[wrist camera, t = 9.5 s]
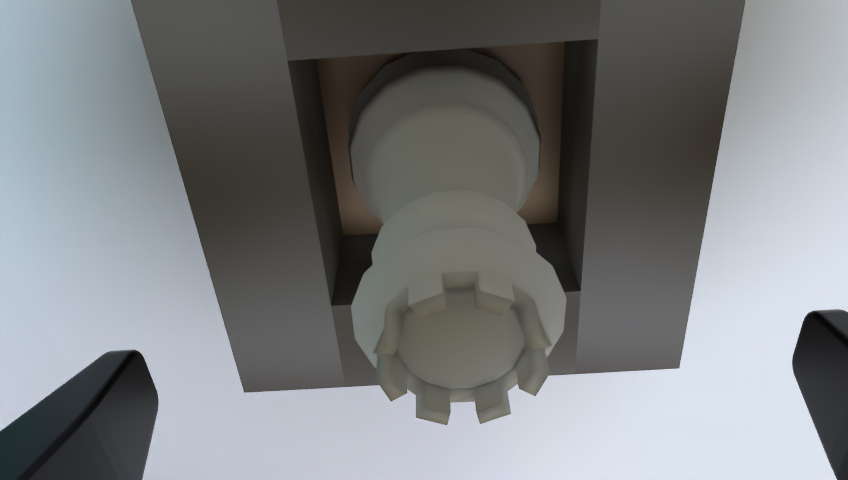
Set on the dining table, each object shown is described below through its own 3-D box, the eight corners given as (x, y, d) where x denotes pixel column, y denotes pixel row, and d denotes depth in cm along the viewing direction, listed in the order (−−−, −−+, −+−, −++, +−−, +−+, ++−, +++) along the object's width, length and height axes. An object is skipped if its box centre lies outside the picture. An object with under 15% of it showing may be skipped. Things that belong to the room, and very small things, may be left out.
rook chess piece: (317, 161, 17) (249, 402, 10) (410, 0, 15) (405, 164, 8) (468, 240, 18) (502, 502, 11) (574, 103, 16) (692, 318, 9)
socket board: (647, 307, 21) (697, 416, 17) (264, 329, 21) (231, 441, 17) (722, -246, 14) (842, -270, 10) (133, -197, 14) (25, -202, 10)
